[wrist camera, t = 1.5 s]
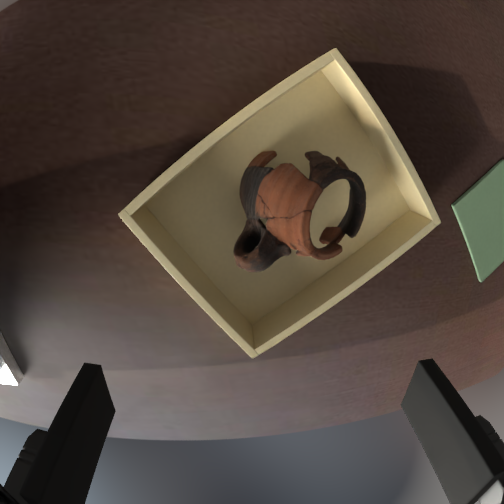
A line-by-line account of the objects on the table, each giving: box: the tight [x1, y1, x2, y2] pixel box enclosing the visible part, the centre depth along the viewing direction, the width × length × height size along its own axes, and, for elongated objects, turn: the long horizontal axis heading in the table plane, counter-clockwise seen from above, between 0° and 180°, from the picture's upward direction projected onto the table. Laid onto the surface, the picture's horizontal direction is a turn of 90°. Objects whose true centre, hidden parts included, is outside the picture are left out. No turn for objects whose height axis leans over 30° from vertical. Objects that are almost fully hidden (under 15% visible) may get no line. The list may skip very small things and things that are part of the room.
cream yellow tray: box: [118, 48, 441, 358], centre depth 27 cm, size 22×18×5 cm
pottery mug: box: [233, 150, 366, 272], centre depth 27 cm, size 12×10×8 cm
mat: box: [451, 160, 504, 282], centre depth 31 cm, size 10×12×1 cm
